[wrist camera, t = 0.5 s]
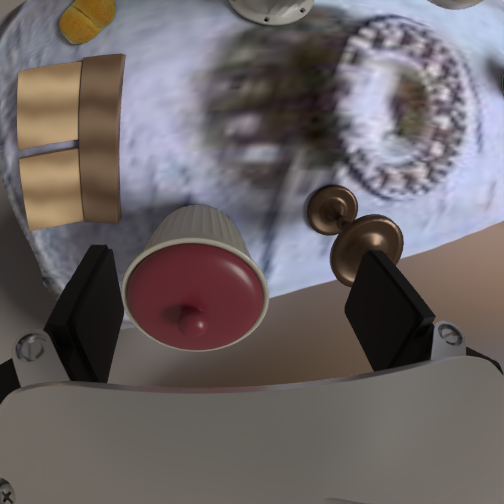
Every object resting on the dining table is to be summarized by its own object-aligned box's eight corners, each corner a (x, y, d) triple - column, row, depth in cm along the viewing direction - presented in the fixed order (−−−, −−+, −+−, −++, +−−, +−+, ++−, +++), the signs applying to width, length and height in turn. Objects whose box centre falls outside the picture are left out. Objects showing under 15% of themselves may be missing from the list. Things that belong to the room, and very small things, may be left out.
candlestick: (302, 181, 45) (434, 362, 16) (362, 178, 46) (517, 321, 16) (301, 240, 51) (389, 426, 22) (357, 234, 52) (468, 390, 22)
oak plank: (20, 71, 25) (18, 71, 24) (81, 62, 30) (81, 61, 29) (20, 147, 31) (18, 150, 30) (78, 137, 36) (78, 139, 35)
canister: (131, 258, 49) (100, 352, 31) (170, 166, 41) (138, 233, 23) (221, 293, 55) (229, 389, 37) (272, 215, 48) (309, 301, 30)
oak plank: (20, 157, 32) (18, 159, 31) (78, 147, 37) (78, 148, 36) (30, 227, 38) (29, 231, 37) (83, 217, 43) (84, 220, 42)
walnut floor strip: (88, 58, 30) (83, 57, 28) (125, 54, 31) (121, 53, 29) (89, 216, 43) (84, 221, 41) (121, 217, 44) (118, 223, 43)
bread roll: (127, 10, 27) (119, 4, 24) (82, 52, 29) (71, 50, 26) (98, -17, 23) (89, -24, 20) (56, 24, 25) (44, 21, 22)
